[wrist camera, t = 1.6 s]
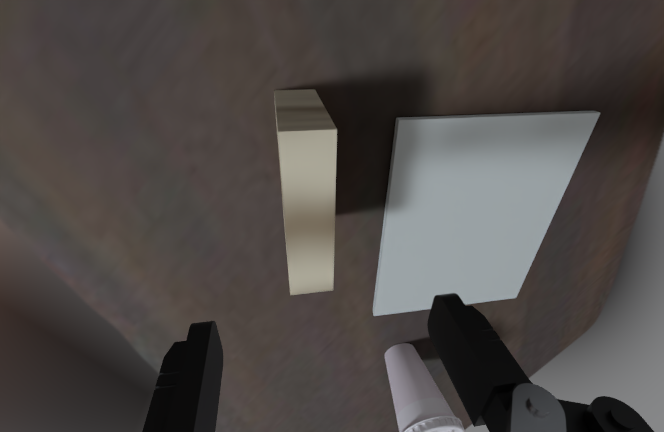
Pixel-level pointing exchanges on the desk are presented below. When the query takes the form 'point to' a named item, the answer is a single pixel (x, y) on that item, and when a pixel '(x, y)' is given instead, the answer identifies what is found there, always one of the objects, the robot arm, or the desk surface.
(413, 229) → the mat
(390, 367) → the smoothie
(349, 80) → the desk surface
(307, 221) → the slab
